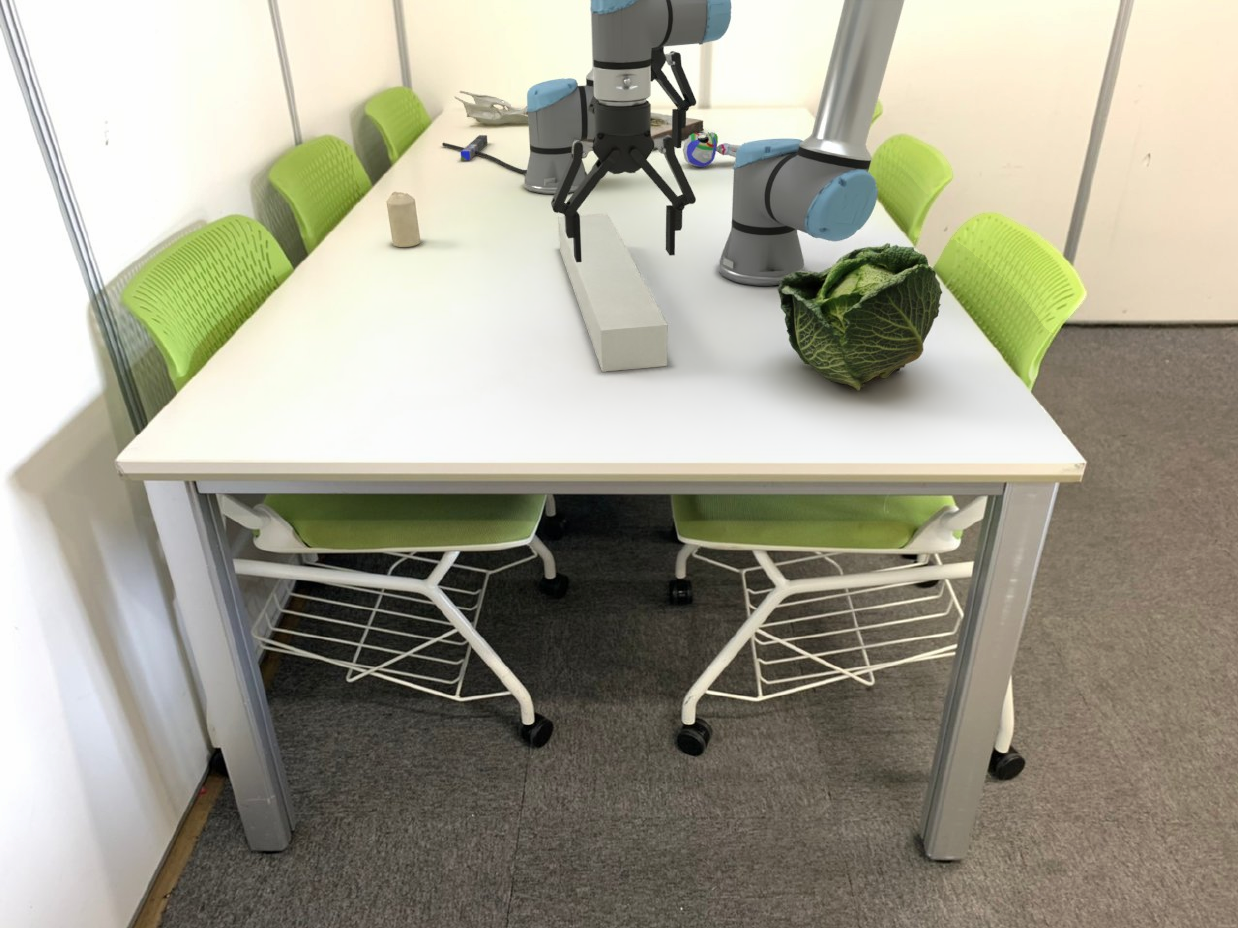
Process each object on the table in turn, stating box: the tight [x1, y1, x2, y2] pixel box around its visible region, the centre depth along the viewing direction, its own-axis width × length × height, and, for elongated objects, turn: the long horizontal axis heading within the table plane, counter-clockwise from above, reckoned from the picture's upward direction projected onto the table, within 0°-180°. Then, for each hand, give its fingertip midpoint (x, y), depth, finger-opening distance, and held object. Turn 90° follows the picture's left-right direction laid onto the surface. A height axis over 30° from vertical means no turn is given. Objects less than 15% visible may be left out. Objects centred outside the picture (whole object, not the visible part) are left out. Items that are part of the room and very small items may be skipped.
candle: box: [385, 191, 421, 248], centre depth 178 cm, size 6×6×10 cm
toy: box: [682, 131, 746, 168], centre depth 228 cm, size 10×8×30 cm
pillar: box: [460, 134, 489, 162], centre depth 244 cm, size 2×2×20 cm
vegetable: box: [777, 242, 943, 392], centre depth 124 cm, size 20×19×20 cm
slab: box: [557, 213, 669, 373], centre depth 152 cm, size 55×10×7 cm, turn 10°
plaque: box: [580, 112, 705, 151], centre depth 257 cm, size 30×7×30 cm
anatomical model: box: [454, 90, 529, 126], centre depth 274 cm, size 15×9×25 cm
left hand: (643, 150), depth 167 cm, fingers open, 13 cm apart
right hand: (624, 256), depth 130 cm, fingers open, 13 cm apart
